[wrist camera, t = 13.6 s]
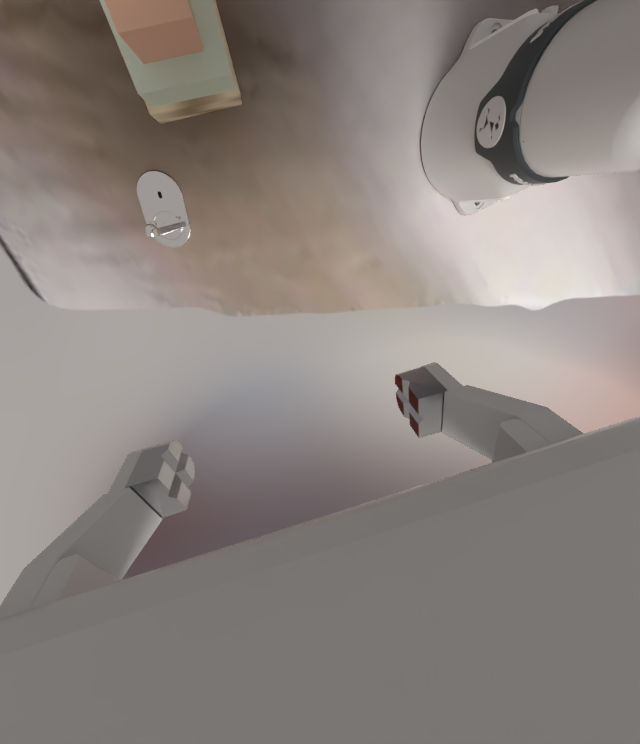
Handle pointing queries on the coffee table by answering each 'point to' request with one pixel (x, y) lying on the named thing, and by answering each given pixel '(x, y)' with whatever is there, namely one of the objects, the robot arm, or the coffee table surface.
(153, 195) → the stand
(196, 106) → the tower base
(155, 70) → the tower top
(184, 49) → the terracotta block
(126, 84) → the coffee table surface
